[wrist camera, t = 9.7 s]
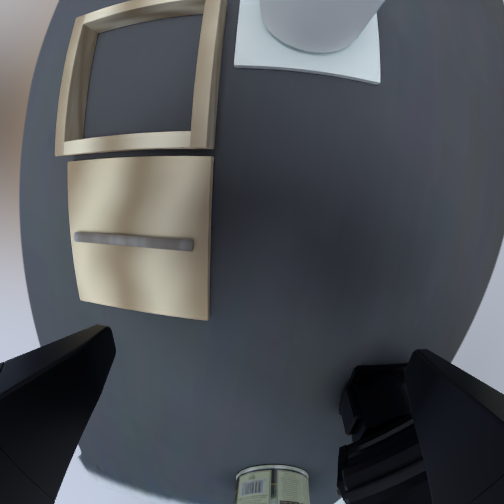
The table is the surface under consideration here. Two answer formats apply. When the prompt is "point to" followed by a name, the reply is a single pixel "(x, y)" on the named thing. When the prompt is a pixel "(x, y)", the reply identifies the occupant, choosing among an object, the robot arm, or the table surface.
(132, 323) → the table surface
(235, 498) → the coffee can
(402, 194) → the table surface
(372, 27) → the mat
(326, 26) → the can
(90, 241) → the beige slotted open frame
